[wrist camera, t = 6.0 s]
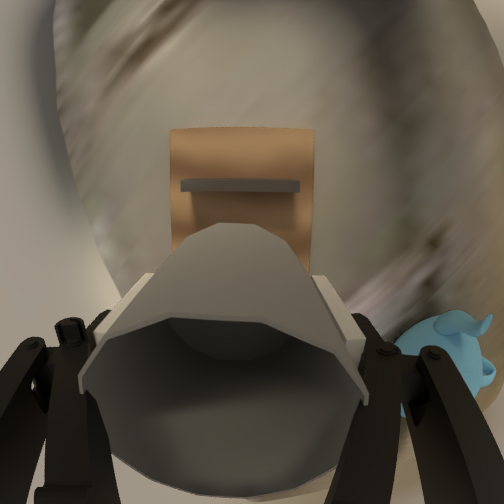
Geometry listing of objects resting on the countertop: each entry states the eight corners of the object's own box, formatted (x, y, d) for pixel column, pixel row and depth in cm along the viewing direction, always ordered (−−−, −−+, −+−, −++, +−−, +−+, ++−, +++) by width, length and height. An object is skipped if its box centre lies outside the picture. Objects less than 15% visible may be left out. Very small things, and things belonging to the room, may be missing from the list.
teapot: (340, 377, 36) (366, 444, 24) (435, 273, 32) (495, 315, 20) (403, 412, 39) (430, 464, 27) (480, 332, 35) (524, 371, 23)
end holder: (173, 131, 27) (158, 124, 22) (311, 131, 28) (324, 124, 23) (181, 327, 33) (172, 352, 28) (300, 329, 34) (308, 354, 29)
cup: (277, 197, 15) (326, 249, 5) (326, 326, 17) (383, 460, 7) (137, 259, 16) (31, 360, 6) (201, 370, 18) (174, 504, 8)
